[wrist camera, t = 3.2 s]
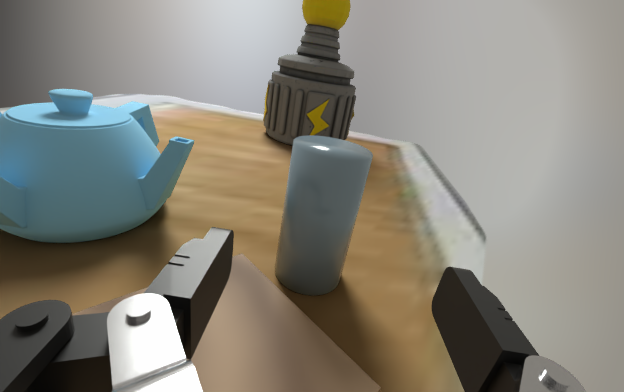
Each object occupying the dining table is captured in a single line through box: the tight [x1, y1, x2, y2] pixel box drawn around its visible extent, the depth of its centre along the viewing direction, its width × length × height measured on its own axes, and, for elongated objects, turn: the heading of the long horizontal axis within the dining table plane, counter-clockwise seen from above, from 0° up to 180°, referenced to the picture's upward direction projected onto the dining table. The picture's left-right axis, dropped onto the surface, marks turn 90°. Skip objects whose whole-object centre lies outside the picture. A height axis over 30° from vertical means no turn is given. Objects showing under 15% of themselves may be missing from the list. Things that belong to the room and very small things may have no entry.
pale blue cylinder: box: [275, 135, 373, 295], centre depth 23 cm, size 6×6×11 cm
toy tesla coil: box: [263, 0, 356, 146], centre depth 61 cm, size 19×19×30 cm
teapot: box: [0, 89, 194, 243], centre depth 26 cm, size 15×15×11 cm
